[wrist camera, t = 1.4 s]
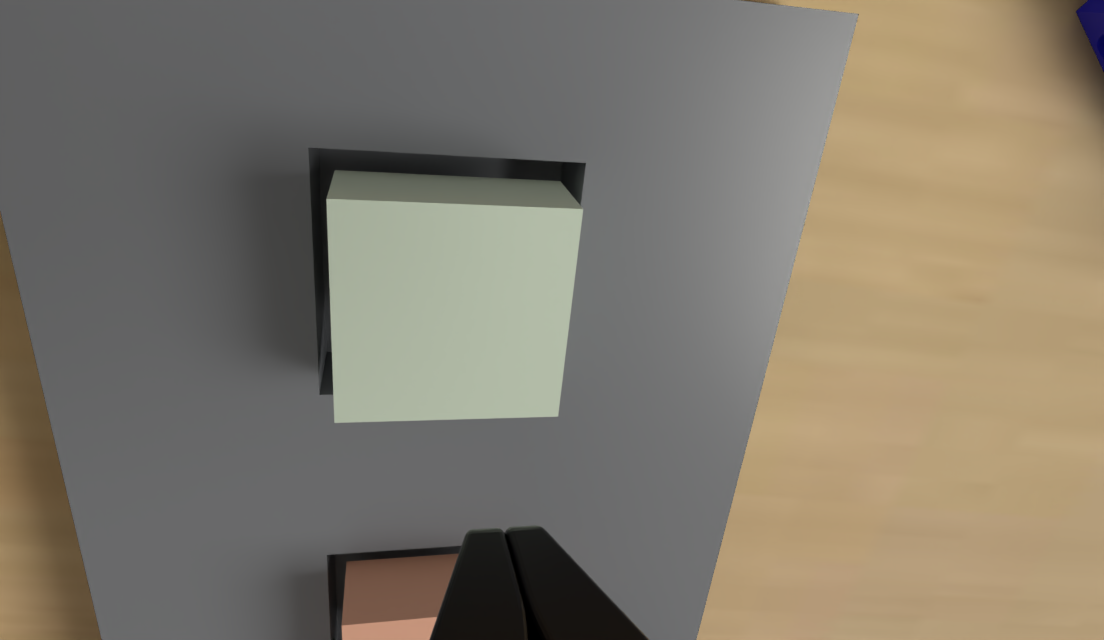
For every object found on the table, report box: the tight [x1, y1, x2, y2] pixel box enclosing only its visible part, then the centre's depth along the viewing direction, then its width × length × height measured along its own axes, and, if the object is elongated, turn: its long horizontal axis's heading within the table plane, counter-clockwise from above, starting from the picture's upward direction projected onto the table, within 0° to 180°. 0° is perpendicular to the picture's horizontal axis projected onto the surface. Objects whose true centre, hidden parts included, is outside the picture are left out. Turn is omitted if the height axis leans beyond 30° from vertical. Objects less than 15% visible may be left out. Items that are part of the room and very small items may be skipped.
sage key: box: [326, 170, 583, 423], centre depth 14 cm, size 4×4×2 cm
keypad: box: [0, 0, 859, 640], centre depth 20 cm, size 32×16×3 cm, turn 174°
